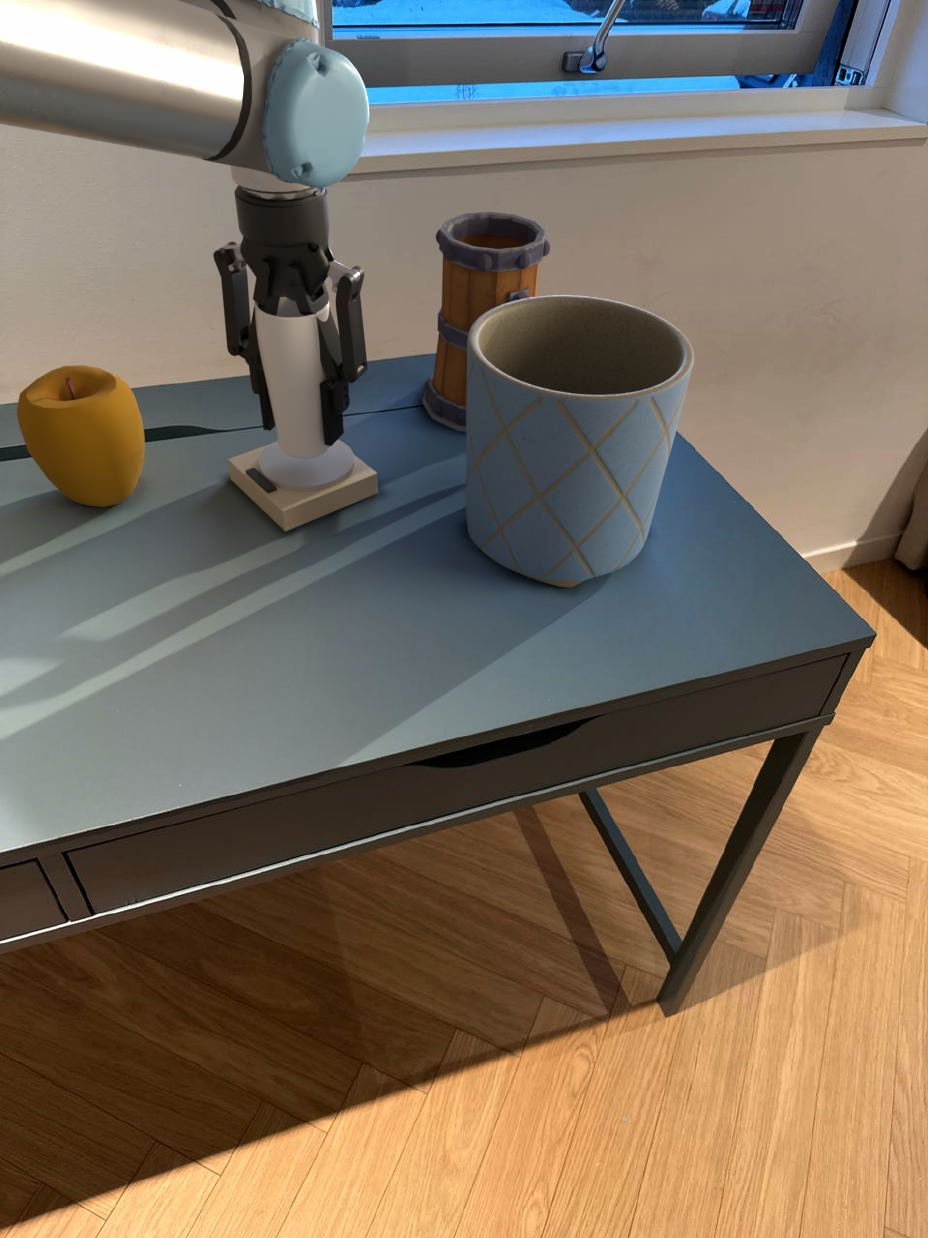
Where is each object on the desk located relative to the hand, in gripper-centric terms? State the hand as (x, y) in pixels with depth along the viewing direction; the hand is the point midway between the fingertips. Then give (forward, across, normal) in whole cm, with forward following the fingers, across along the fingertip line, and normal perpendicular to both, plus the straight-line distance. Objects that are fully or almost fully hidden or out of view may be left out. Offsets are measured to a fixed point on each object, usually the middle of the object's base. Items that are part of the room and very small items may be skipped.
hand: (303, 430), depth 90 cm
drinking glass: (+2, 0, 0) cm, 2 cm away
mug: (+7, -13, -22) cm, 26 cm away
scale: (+6, 0, 0) cm, 6 cm away
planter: (+7, -26, -3) cm, 27 cm away
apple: (+7, +18, +10) cm, 22 cm away
